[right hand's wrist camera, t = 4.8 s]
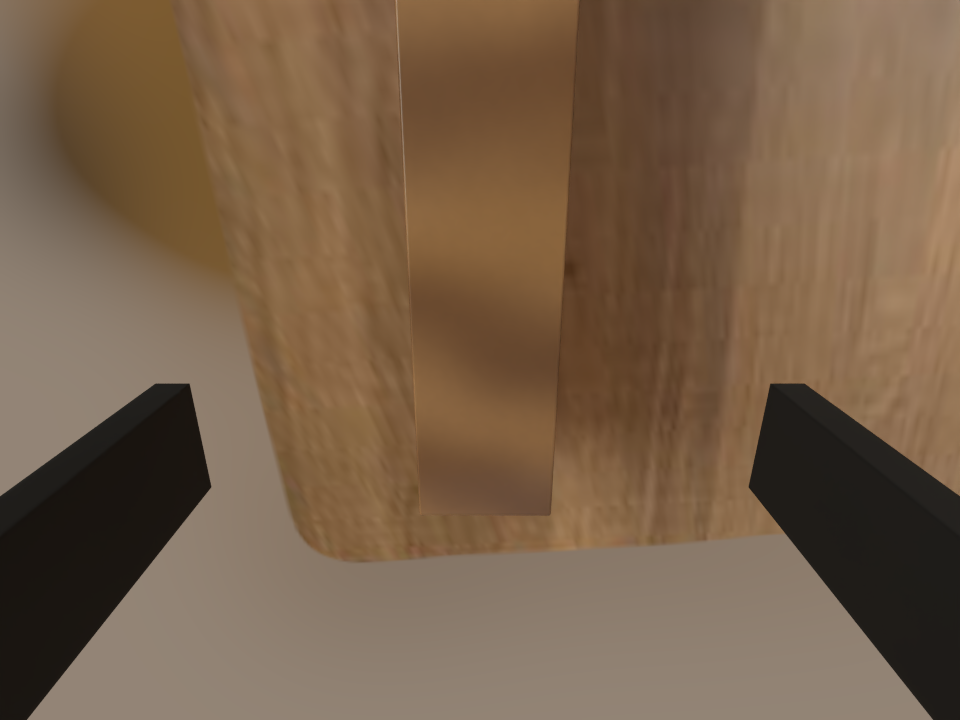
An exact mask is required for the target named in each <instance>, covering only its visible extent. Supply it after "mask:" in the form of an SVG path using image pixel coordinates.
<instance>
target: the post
mask: <svg viewBox="0 0 960 720" xmlns="http://www.w3.org/2000/svg"><path fill="white" fill-rule="evenodd" d="M579 5H580V0H395V15H396V36H397V56H398V77H399V97H400V118H401V138H402V159H403V180H404V200H405V221H406V241H407V262H408V283H409V303H410V324H411V344H412V365H413V386H414V406H415V427H416V447H417V468H418V489H419V509H420V515H519V516H549V515H550V514H551V500H552V482H553V464H554V447H555V429H556V411H557V394H558V376H559V358H560V341H561V323H562V305H563V288H564V270H565V252H566V235H567V217H568V199H569V182H570V164H571V146H572V129H573V111H574V93H575V76H576V58H577V40H578V23H579Z"/></svg>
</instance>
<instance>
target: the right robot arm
mask: <svg viewBox="0 0 960 720" xmlns="http://www.w3.org/2000/svg"><path fill="white" fill-rule="evenodd" d="M210 488H211V483H210V478H209V474H208V469H207V464H206V459H205V455H204V450H203V445H202V441H201V436H200V431H199V426H198V422H197V417H196V412H195V408H194V403H193V398H192V393H191V389H190V384H154V385H153V386H152V387H150V388H149V389H148V390H146V391H145V392H143V393H142V394H141V395H139V396H138V397H137V398H135V399H134V400H132V401H131V402H130V403H128V404H127V405H126V406H124V407H123V408H121V409H120V410H119V411H117V412H116V413H115V414H113V415H112V416H110V417H109V418H108V419H106V420H105V421H103V422H102V423H101V424H99V425H98V426H97V427H95V428H94V429H92V430H91V431H90V432H88V433H87V434H86V435H84V436H83V437H81V438H80V439H79V440H77V441H76V442H74V443H73V444H72V445H70V446H69V447H68V448H66V449H65V450H63V451H62V452H61V453H59V454H58V455H57V456H55V457H54V458H52V459H51V460H50V461H48V462H47V463H46V464H44V465H43V466H41V467H40V468H39V469H37V470H36V471H35V472H33V473H32V474H30V475H29V476H28V477H26V478H25V479H23V480H22V481H21V482H19V483H18V484H17V485H15V486H14V487H12V488H11V489H10V490H8V491H7V492H6V493H4V494H3V495H1V496H0V720H27V719H28V718H29V716H30V715H31V714H32V713H33V711H34V710H35V709H36V707H37V706H38V705H39V704H40V702H41V701H42V700H43V699H44V697H45V696H46V695H47V694H48V692H49V691H50V690H51V689H52V687H53V686H54V685H55V683H56V682H57V681H58V680H59V679H60V677H61V676H62V675H63V673H64V672H65V671H66V670H67V668H68V667H69V666H70V665H71V663H72V662H73V661H74V660H75V658H76V657H77V656H78V654H79V653H80V652H81V651H82V649H83V648H84V647H85V646H86V644H87V643H88V642H89V641H90V639H91V638H92V637H93V636H94V634H95V633H96V632H97V630H98V629H99V628H100V627H101V626H102V624H103V623H104V622H105V621H106V619H107V618H108V617H109V615H110V614H111V613H112V612H113V610H114V609H115V608H116V607H117V605H118V604H119V603H120V602H121V600H122V599H123V598H124V597H125V595H126V594H127V593H128V592H129V590H130V589H131V588H132V586H133V585H134V584H135V583H136V581H137V580H138V579H139V578H140V576H141V575H142V574H143V573H144V571H145V570H146V569H147V568H148V566H149V565H150V564H151V563H152V561H153V560H154V559H155V557H156V556H157V555H158V554H159V552H160V551H161V550H162V549H163V547H164V546H165V545H166V544H167V542H168V541H169V540H170V539H171V537H172V536H173V535H174V533H175V532H176V531H177V530H178V529H179V527H180V526H181V525H182V523H183V522H184V521H185V520H186V518H187V517H188V516H189V515H190V513H191V512H192V511H193V510H194V508H195V507H196V506H197V505H198V503H199V502H200V501H201V500H202V498H203V497H204V496H205V494H206V493H207V492H208V491H209V489H210ZM749 488H750V489H751V491H752V492H753V493H754V494H755V496H756V497H757V498H758V500H759V501H760V502H761V503H762V505H763V506H764V507H765V508H766V510H767V511H768V512H769V513H770V515H771V516H772V517H773V518H774V520H775V521H776V522H777V523H778V525H779V526H780V527H781V529H782V530H783V531H784V532H785V534H786V535H787V536H788V537H789V539H790V540H791V541H792V542H793V544H794V545H795V546H796V547H797V549H798V550H799V551H800V552H801V554H802V555H803V556H804V557H805V559H806V560H807V561H808V562H809V564H810V565H811V566H812V568H813V569H814V570H815V571H816V573H817V574H818V575H819V576H820V578H821V579H822V580H823V581H824V583H825V584H826V585H827V586H828V588H829V589H830V590H831V592H832V593H833V594H834V595H835V597H836V598H837V599H838V600H839V602H840V603H841V604H842V605H843V607H844V608H845V609H846V610H847V612H848V613H849V614H850V615H851V617H852V618H853V619H854V621H855V622H856V623H857V624H858V626H859V627H860V628H861V629H862V631H863V632H864V633H865V634H866V636H867V637H868V638H869V639H870V641H871V642H872V643H873V644H874V646H875V647H876V648H877V650H878V651H879V652H880V653H881V654H882V656H883V657H884V658H885V660H886V661H887V662H888V663H889V665H890V666H891V667H892V668H893V670H894V671H895V672H896V673H897V675H898V676H899V677H900V679H901V680H902V681H903V682H904V684H905V685H906V686H907V687H908V688H909V690H910V691H911V692H912V694H913V695H914V696H915V697H916V699H917V700H918V701H919V702H920V704H921V705H922V706H923V708H924V709H925V710H926V711H927V712H928V714H929V715H930V716H931V718H932V719H933V720H960V496H959V495H957V494H956V493H954V492H953V491H952V490H950V489H949V488H948V487H946V486H945V485H943V484H942V483H941V482H939V481H938V480H937V479H935V478H934V477H932V476H931V475H930V474H928V473H927V472H926V471H924V470H923V469H921V468H920V467H919V466H917V465H916V464H914V463H913V462H912V461H910V460H909V459H908V458H906V457H905V456H903V455H902V454H901V453H899V452H898V451H897V450H895V449H894V448H892V447H891V446H890V445H888V444H887V443H886V442H884V441H883V440H881V439H880V438H879V437H877V436H876V435H874V434H873V433H872V432H870V431H869V430H868V429H866V428H865V427H863V426H862V425H861V424H859V423H858V422H857V421H855V420H854V419H852V418H851V417H850V416H848V415H847V414H846V413H844V412H843V411H841V410H840V409H839V408H837V407H836V406H834V405H833V404H832V403H830V402H829V401H828V400H826V399H825V398H823V397H822V396H821V395H819V394H818V393H817V392H815V391H814V390H812V389H811V388H810V387H808V386H807V385H806V384H770V389H769V393H768V398H767V403H766V407H765V412H764V417H763V422H762V426H761V431H760V436H759V440H758V445H757V450H756V455H755V459H754V464H753V469H752V474H751V478H750V483H749Z"/></svg>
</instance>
